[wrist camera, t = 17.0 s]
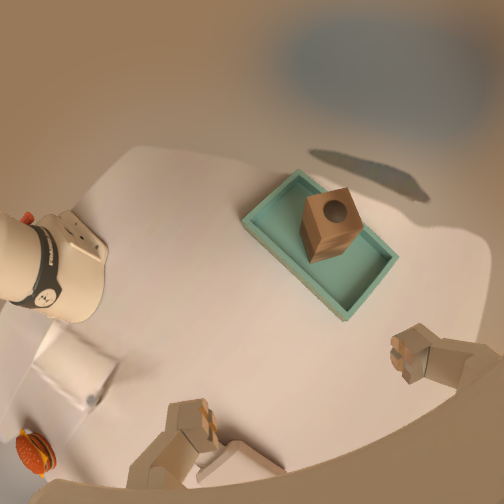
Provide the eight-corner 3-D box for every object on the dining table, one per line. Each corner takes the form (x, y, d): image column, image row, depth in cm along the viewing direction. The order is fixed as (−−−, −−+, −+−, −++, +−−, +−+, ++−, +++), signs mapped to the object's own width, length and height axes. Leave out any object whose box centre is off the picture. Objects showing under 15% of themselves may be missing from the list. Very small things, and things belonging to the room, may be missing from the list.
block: (309, 264, 39) (321, 238, 28) (299, 231, 40) (306, 196, 29) (342, 254, 38) (364, 226, 28) (330, 223, 40) (347, 186, 29)
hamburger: (28, 449, 32) (10, 454, 26) (32, 423, 34) (12, 427, 28) (55, 477, 30) (37, 485, 24) (60, 453, 32) (40, 461, 26)
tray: (243, 227, 42) (241, 220, 39) (297, 178, 43) (298, 168, 40) (342, 321, 37) (347, 320, 34) (391, 262, 38) (399, 256, 35)
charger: (209, 412, 35) (286, 469, 31) (173, 446, 33) (246, 500, 30) (201, 422, 30) (287, 484, 26) (162, 457, 29) (243, 515, 25)
